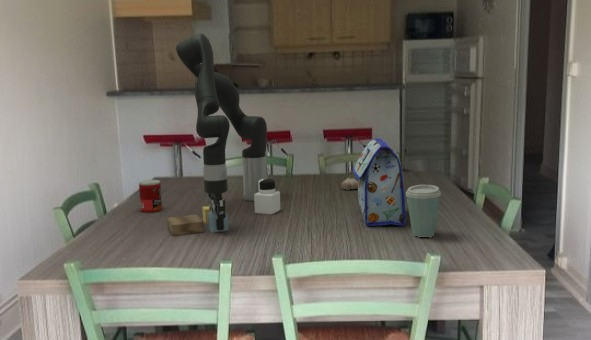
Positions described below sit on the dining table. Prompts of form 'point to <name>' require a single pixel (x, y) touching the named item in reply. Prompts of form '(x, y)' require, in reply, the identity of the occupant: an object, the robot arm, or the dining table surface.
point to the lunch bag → (380, 185)
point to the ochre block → (205, 214)
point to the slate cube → (213, 224)
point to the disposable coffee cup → (423, 209)
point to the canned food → (150, 195)
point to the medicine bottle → (267, 197)
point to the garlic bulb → (350, 183)
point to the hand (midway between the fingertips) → (217, 227)
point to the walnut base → (185, 225)
